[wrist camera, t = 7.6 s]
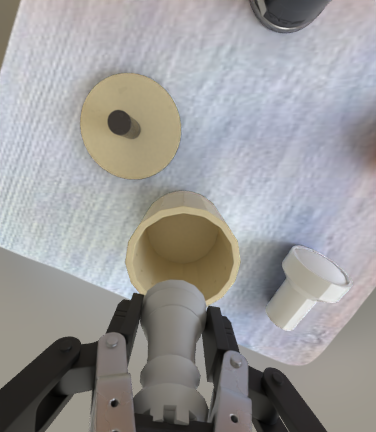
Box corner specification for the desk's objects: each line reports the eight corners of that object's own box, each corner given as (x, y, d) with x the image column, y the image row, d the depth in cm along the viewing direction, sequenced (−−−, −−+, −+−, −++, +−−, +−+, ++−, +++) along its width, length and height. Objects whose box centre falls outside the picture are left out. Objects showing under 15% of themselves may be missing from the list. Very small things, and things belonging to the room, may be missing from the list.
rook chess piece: (147, 333, 16) (116, 490, 9) (137, 279, 15) (92, 404, 8) (208, 327, 16) (231, 479, 9) (203, 272, 15) (225, 390, 8)
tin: (150, 183, 31) (134, 196, 21) (230, 199, 32) (253, 219, 22) (137, 258, 34) (118, 301, 24) (211, 271, 35) (224, 319, 24)
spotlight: (340, 257, 33) (368, 295, 26) (298, 309, 38) (311, 353, 31) (289, 235, 34) (302, 265, 26) (253, 288, 38) (255, 327, 31)
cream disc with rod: (89, 65, 27) (60, 36, 21) (189, 89, 28) (192, 69, 22) (80, 168, 30) (52, 171, 24) (171, 186, 31) (168, 194, 25)
